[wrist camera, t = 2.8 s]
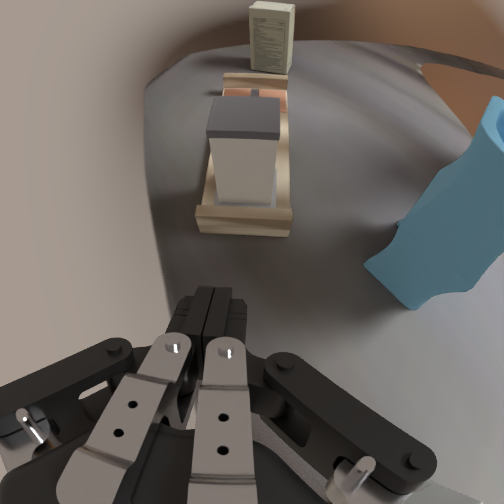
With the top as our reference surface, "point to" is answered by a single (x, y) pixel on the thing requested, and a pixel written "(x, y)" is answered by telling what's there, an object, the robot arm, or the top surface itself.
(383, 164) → the top surface
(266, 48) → the skincare box
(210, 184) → the fader track
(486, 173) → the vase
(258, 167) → the fader knob
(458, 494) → the small box
